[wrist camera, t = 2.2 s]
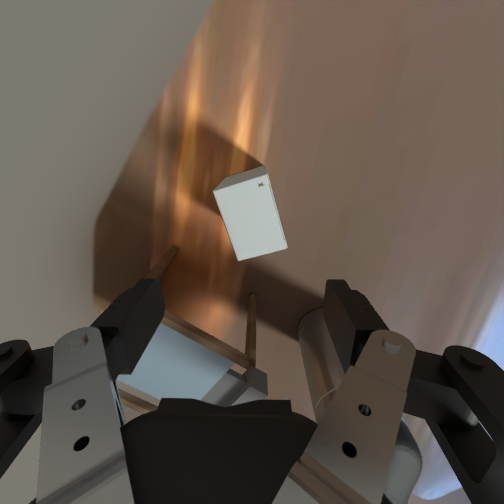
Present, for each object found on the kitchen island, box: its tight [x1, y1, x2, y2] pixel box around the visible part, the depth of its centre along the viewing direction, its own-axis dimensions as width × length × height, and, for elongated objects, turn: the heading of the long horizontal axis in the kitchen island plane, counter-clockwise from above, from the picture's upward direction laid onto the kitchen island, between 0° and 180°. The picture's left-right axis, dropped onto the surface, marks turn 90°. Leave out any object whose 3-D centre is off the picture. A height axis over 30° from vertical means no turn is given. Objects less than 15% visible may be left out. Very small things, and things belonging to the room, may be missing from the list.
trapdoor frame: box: [118, 245, 257, 414], centre depth 34 cm, size 15×15×14 cm
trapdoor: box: [117, 313, 268, 407], centre depth 30 cm, size 18×12×3 cm, turn 55°
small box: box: [213, 165, 288, 261], centre depth 29 cm, size 8×6×10 cm
